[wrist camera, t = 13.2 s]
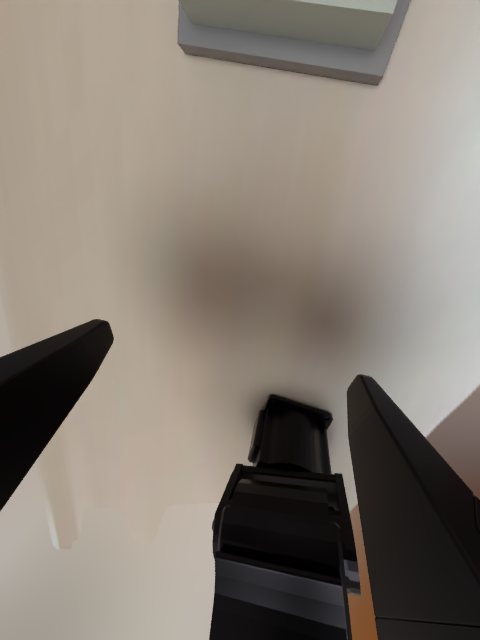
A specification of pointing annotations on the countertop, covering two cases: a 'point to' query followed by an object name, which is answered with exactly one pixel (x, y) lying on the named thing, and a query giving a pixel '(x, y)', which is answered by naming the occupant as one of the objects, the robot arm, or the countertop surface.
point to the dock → (296, 34)
